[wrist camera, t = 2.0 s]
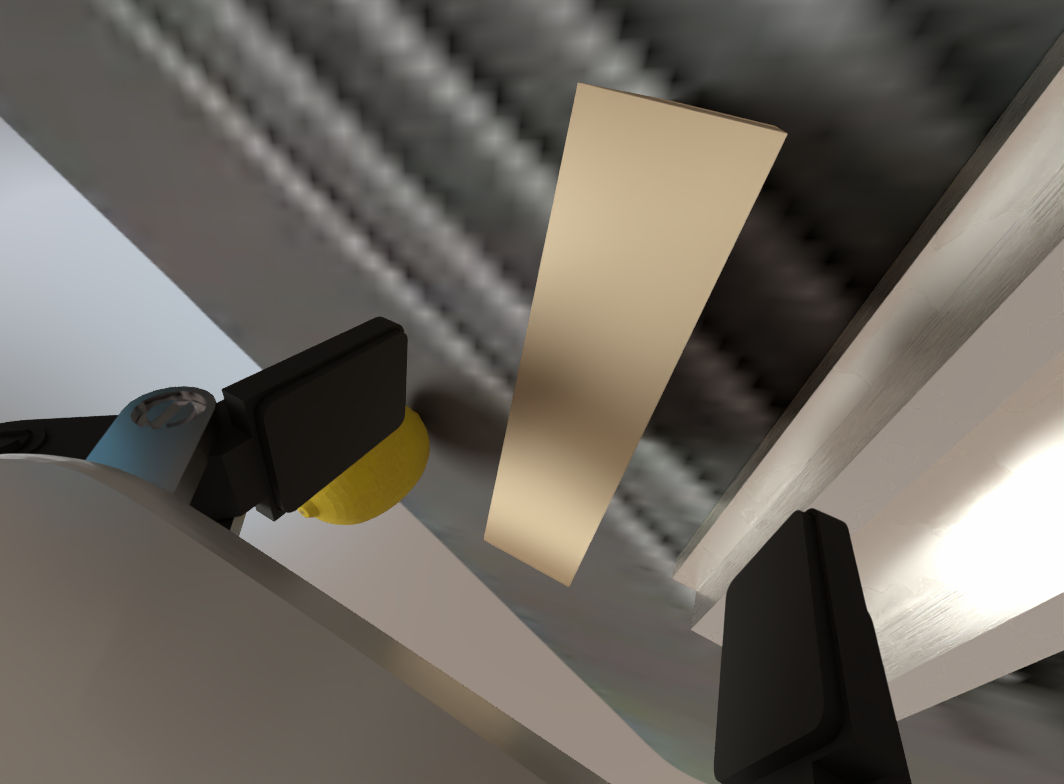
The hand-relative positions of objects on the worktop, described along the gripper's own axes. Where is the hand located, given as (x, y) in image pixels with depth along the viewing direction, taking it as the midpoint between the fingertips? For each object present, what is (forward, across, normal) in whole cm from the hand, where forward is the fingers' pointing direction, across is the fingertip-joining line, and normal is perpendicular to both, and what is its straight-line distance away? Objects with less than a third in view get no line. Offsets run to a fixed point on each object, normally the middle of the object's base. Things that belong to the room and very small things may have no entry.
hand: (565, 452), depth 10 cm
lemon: (+9, +10, +10) cm, 17 cm away
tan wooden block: (+8, 0, -1) cm, 8 cm away
